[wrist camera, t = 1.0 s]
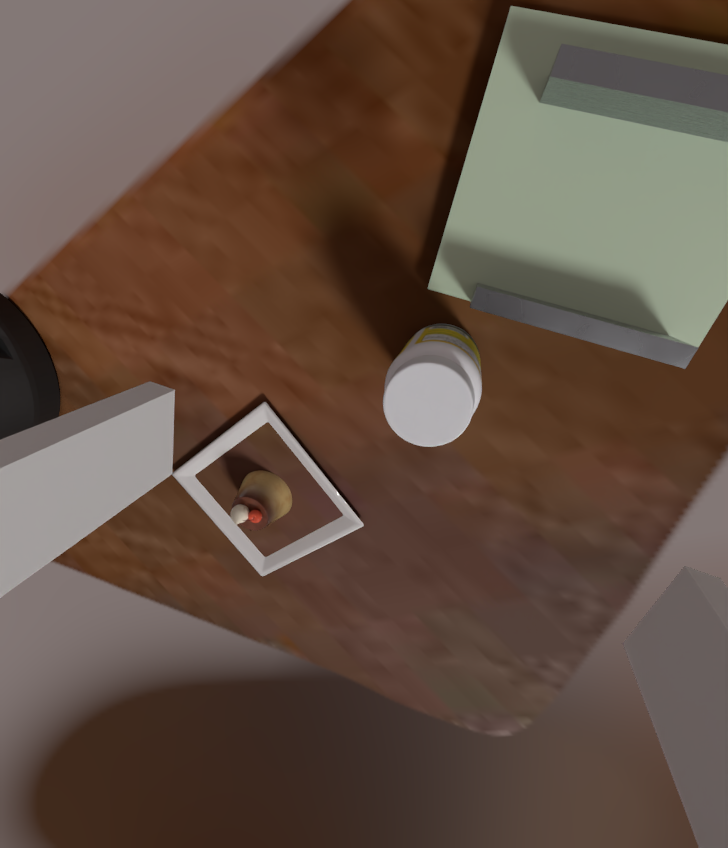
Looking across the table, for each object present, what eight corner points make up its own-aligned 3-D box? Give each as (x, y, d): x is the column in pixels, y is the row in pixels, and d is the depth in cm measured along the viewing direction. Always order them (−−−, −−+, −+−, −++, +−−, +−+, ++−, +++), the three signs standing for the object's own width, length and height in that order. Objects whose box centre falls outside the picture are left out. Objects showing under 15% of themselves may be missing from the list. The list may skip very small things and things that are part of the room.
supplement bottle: (424, 408, 27) (403, 469, 19) (389, 345, 26) (353, 383, 18) (493, 377, 25) (501, 431, 17) (460, 307, 24) (452, 332, 16)
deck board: (429, 287, 24) (427, 288, 22) (508, 20, 18) (510, 5, 17) (678, 357, 22) (688, 362, 21) (844, 82, 17) (870, 70, 15)
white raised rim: (368, 517, 32) (351, 558, 27) (267, 568, 37) (240, 609, 33) (271, 396, 30) (237, 420, 25) (179, 467, 35) (138, 497, 31)
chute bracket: (470, 301, 22) (469, 307, 19) (548, 75, 18) (561, 43, 15) (658, 354, 21) (685, 368, 18) (791, 124, 17) (852, 99, 14)
